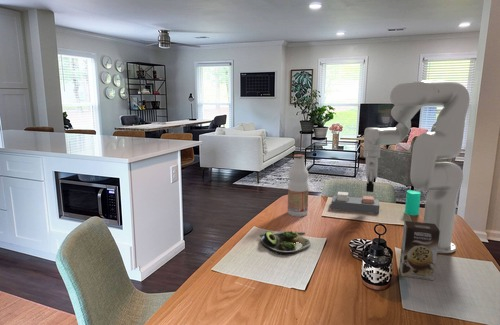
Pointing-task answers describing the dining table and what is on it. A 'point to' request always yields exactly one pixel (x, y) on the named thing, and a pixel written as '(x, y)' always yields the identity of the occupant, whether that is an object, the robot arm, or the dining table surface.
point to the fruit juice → (298, 188)
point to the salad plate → (284, 242)
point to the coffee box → (419, 250)
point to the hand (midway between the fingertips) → (369, 191)
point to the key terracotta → (368, 199)
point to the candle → (412, 202)
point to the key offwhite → (342, 196)
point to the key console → (355, 205)
